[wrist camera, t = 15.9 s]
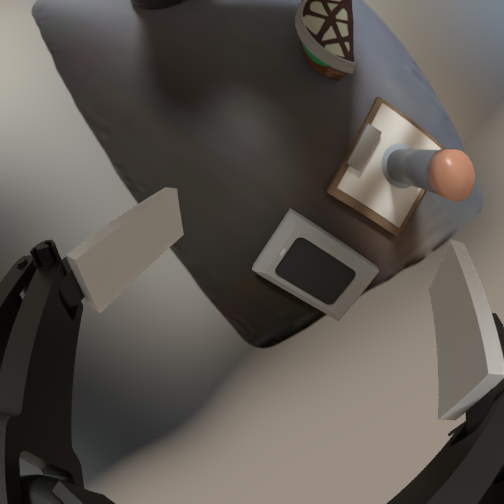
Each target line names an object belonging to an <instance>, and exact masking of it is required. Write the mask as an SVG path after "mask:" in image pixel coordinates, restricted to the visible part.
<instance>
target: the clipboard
mask: <svg viewBox="0 0 504 504" xmlns="http://www.w3.org/2000/svg"><path fill="white" fill-rule="evenodd" d="M398 149H423V150H441V149H445V148H444V147H443V146H442V145H441V144H440V143H439V142H438V141H436V140H435V139H434V138H433V137H432V136H431V135H429V134H428V133H427V132H426V131H425V130H423V129H422V128H421V127H420V126H419V125H417V124H416V123H415V122H413V121H412V120H411V119H410V118H408V117H407V116H406V115H404V114H403V113H402V112H400V111H399V110H397V109H396V108H395V107H393V106H392V105H390V104H389V103H388V102H386V101H385V100H383V99H382V98H380V97H377V98H376V99H375V101H374V103H373V105H372V107H371V109H370V110H369V112H368V114H367V116H366V118H365V120H364V122H363V124H362V126H361V128H360V130H359V132H358V133H357V135H356V137H355V139H354V141H353V143H352V145H351V146H350V148H349V150H348V152H347V154H346V156H345V158H344V159H343V161H342V163H341V165H340V167H339V168H338V170H337V172H336V174H335V176H334V178H333V179H332V181H331V183H330V185H329V186H328V188H327V190H326V192H327V193H329V194H330V195H332V196H334V197H335V198H337V199H339V200H340V201H342V202H344V203H345V204H347V205H349V206H350V207H352V208H354V209H355V210H357V211H358V212H360V213H362V214H363V215H365V216H366V217H368V218H369V219H371V220H372V221H374V222H376V223H377V224H379V225H380V226H382V227H383V228H385V229H386V230H388V231H389V232H391V233H392V234H393V235H395V236H396V237H399V236H400V234H401V232H402V231H403V229H404V227H405V226H406V224H407V222H408V221H409V219H410V217H411V215H412V214H413V212H414V210H415V208H416V207H417V205H418V203H419V201H420V199H421V198H422V196H423V194H424V192H425V190H424V189H421V188H417V187H414V186H411V185H407V184H404V183H400V182H397V181H395V180H394V179H393V178H392V177H391V176H390V174H389V172H388V170H387V160H388V157H389V155H390V154H391V153H392V152H393V151H395V150H398Z"/></svg>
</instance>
